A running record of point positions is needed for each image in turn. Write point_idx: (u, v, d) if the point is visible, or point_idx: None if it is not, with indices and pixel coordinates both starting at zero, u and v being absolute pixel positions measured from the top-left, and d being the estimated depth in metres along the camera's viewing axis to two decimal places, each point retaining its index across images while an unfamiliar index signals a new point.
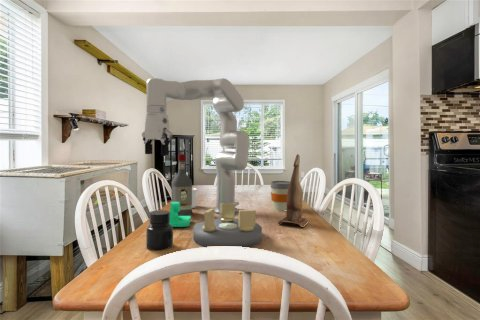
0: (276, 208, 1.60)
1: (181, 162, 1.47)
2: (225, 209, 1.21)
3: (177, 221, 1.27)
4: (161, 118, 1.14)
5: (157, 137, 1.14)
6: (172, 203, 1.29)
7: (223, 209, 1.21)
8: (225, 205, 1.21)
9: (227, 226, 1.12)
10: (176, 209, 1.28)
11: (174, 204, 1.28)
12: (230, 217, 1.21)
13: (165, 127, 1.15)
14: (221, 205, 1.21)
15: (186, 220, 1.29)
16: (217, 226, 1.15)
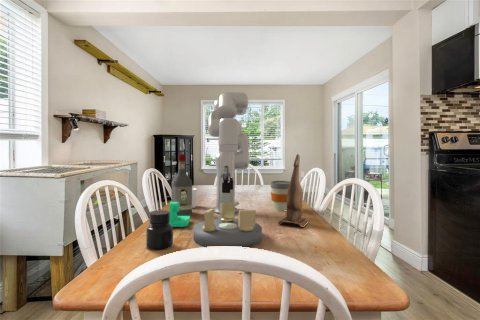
0: (276, 208, 1.60)
1: (181, 162, 1.47)
2: (225, 209, 1.21)
3: (176, 221, 1.27)
4: None
5: None
6: (171, 203, 1.29)
7: (223, 209, 1.21)
8: (225, 205, 1.21)
9: (227, 226, 1.12)
10: (175, 209, 1.28)
11: (173, 204, 1.29)
12: (230, 217, 1.21)
13: None
14: (221, 205, 1.21)
15: (185, 220, 1.29)
16: (217, 226, 1.15)
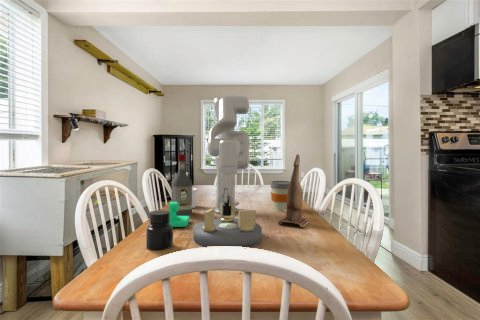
0: (276, 208, 1.60)
1: (181, 162, 1.47)
2: None
3: (175, 221, 1.27)
4: None
5: (233, 194, 1.24)
6: (170, 203, 1.29)
7: None
8: None
9: (227, 226, 1.12)
10: (174, 209, 1.28)
11: (172, 204, 1.28)
12: (230, 217, 1.21)
13: None
14: (221, 205, 1.21)
15: (184, 220, 1.29)
16: (217, 226, 1.15)
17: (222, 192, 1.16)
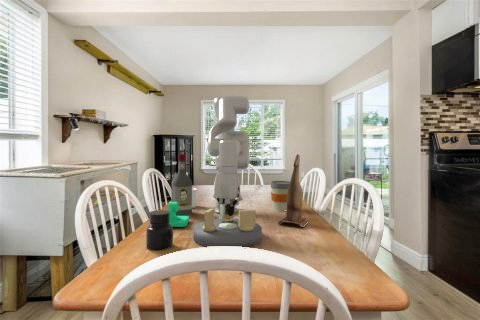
0: (276, 208, 1.60)
1: (181, 162, 1.47)
2: (227, 209, 1.21)
3: (175, 221, 1.27)
4: None
5: None
6: (170, 203, 1.29)
7: (225, 209, 1.20)
8: (227, 205, 1.21)
9: (227, 226, 1.12)
10: (174, 209, 1.28)
11: (172, 204, 1.29)
12: (231, 216, 1.22)
13: None
14: (224, 206, 1.20)
15: (184, 220, 1.29)
16: (217, 226, 1.15)
17: (237, 192, 1.18)
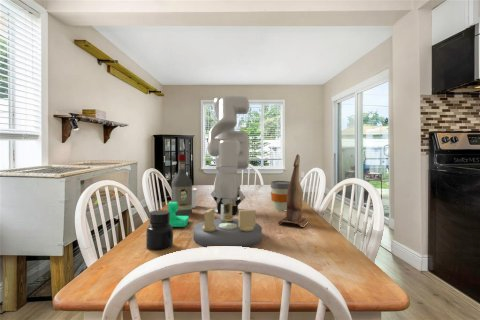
0: (276, 208, 1.60)
1: (181, 162, 1.47)
2: (227, 209, 1.21)
3: (175, 221, 1.27)
4: None
5: None
6: (170, 203, 1.29)
7: (226, 209, 1.20)
8: (227, 205, 1.21)
9: (227, 226, 1.12)
10: (174, 209, 1.28)
11: (172, 204, 1.28)
12: (230, 216, 1.23)
13: None
14: (224, 206, 1.19)
15: (184, 220, 1.29)
16: (217, 226, 1.15)
17: (237, 192, 1.18)
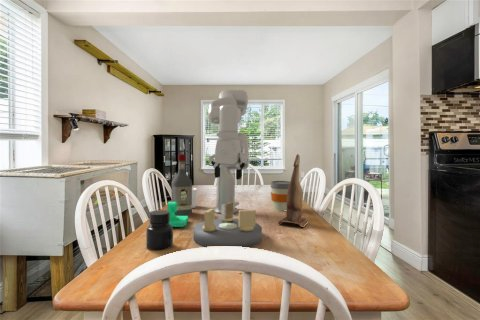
0: (276, 208, 1.60)
1: (181, 162, 1.47)
2: (227, 209, 1.21)
3: (174, 221, 1.27)
4: None
5: None
6: (169, 203, 1.29)
7: (227, 209, 1.20)
8: (227, 205, 1.21)
9: (227, 226, 1.12)
10: (173, 209, 1.28)
11: (171, 204, 1.28)
12: (230, 216, 1.23)
13: None
14: (225, 206, 1.19)
15: (183, 220, 1.29)
16: (217, 226, 1.15)
17: (238, 157, 1.17)
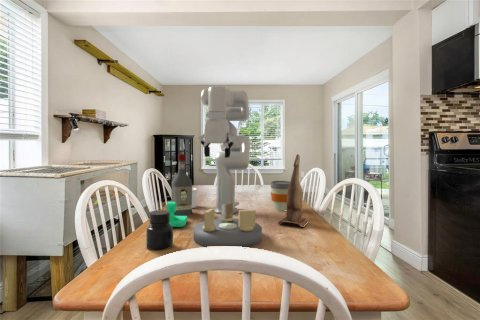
0: (276, 208, 1.60)
1: (181, 162, 1.47)
2: (227, 209, 1.21)
3: (173, 221, 1.27)
4: None
5: None
6: (168, 203, 1.29)
7: (227, 209, 1.20)
8: (228, 205, 1.21)
9: (227, 226, 1.12)
10: (172, 209, 1.28)
11: (170, 204, 1.28)
12: (230, 216, 1.23)
13: None
14: (225, 206, 1.19)
15: (182, 220, 1.29)
16: (217, 226, 1.15)
17: (226, 136, 1.23)
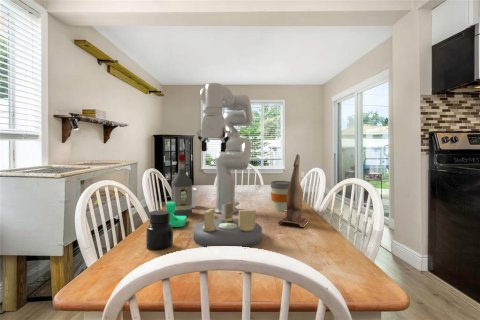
0: (276, 208, 1.60)
1: (181, 162, 1.47)
2: (227, 209, 1.21)
3: (172, 221, 1.27)
4: None
5: None
6: (167, 203, 1.29)
7: (227, 209, 1.20)
8: (228, 205, 1.21)
9: (227, 226, 1.12)
10: (171, 209, 1.28)
11: (169, 204, 1.28)
12: (230, 216, 1.23)
13: None
14: (225, 206, 1.19)
15: (181, 220, 1.29)
16: (217, 226, 1.15)
17: (222, 131, 1.27)
